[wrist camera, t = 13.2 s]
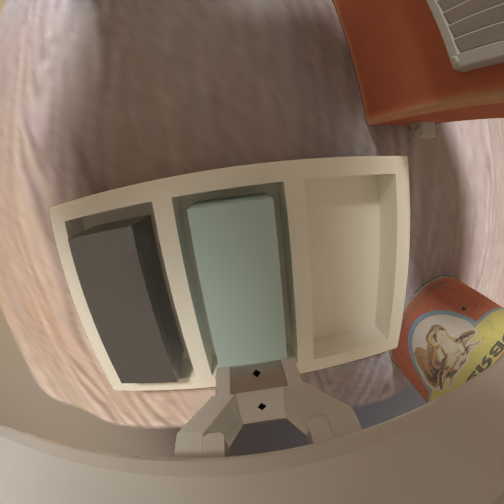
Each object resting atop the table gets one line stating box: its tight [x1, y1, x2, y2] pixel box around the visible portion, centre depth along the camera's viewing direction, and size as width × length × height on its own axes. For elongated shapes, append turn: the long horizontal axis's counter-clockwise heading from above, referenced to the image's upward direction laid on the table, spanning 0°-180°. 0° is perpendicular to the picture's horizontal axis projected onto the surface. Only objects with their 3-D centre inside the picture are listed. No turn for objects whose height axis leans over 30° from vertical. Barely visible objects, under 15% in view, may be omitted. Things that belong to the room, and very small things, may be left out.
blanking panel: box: [187, 193, 287, 368], centre depth 18 cm, size 11×4×4 cm, turn 7°
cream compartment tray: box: [49, 156, 410, 390], centre depth 18 cm, size 16×24×3 cm, turn 97°
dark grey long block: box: [68, 215, 184, 383], centre depth 17 cm, size 11×4×4 cm, turn 7°
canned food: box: [389, 276, 504, 403], centre depth 18 cm, size 11×11×12 cm
